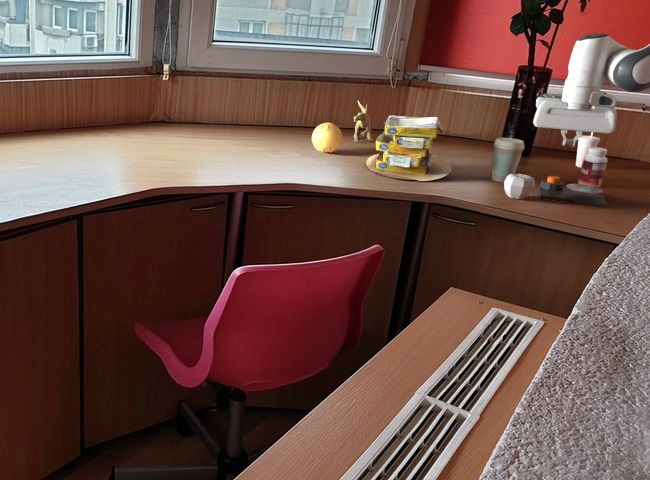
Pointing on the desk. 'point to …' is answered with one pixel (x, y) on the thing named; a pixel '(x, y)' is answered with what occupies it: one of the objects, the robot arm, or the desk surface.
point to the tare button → (553, 179)
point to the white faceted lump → (518, 185)
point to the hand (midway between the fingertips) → (568, 145)
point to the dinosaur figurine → (362, 124)
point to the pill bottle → (593, 167)
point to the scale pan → (584, 189)
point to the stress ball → (327, 137)
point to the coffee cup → (506, 157)
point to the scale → (568, 195)
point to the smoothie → (585, 147)
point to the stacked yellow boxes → (409, 149)
